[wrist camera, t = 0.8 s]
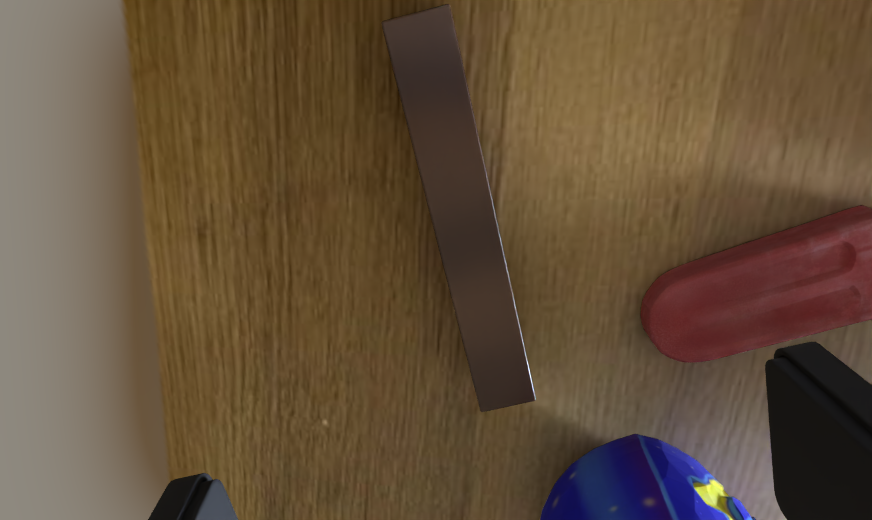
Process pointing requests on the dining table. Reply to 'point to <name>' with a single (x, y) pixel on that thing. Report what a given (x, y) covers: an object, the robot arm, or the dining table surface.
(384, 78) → the dining table surface
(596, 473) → the ornament
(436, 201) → the stick
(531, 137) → the dining table surface
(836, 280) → the popsicle
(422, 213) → the dining table surface
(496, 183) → the dining table surface
